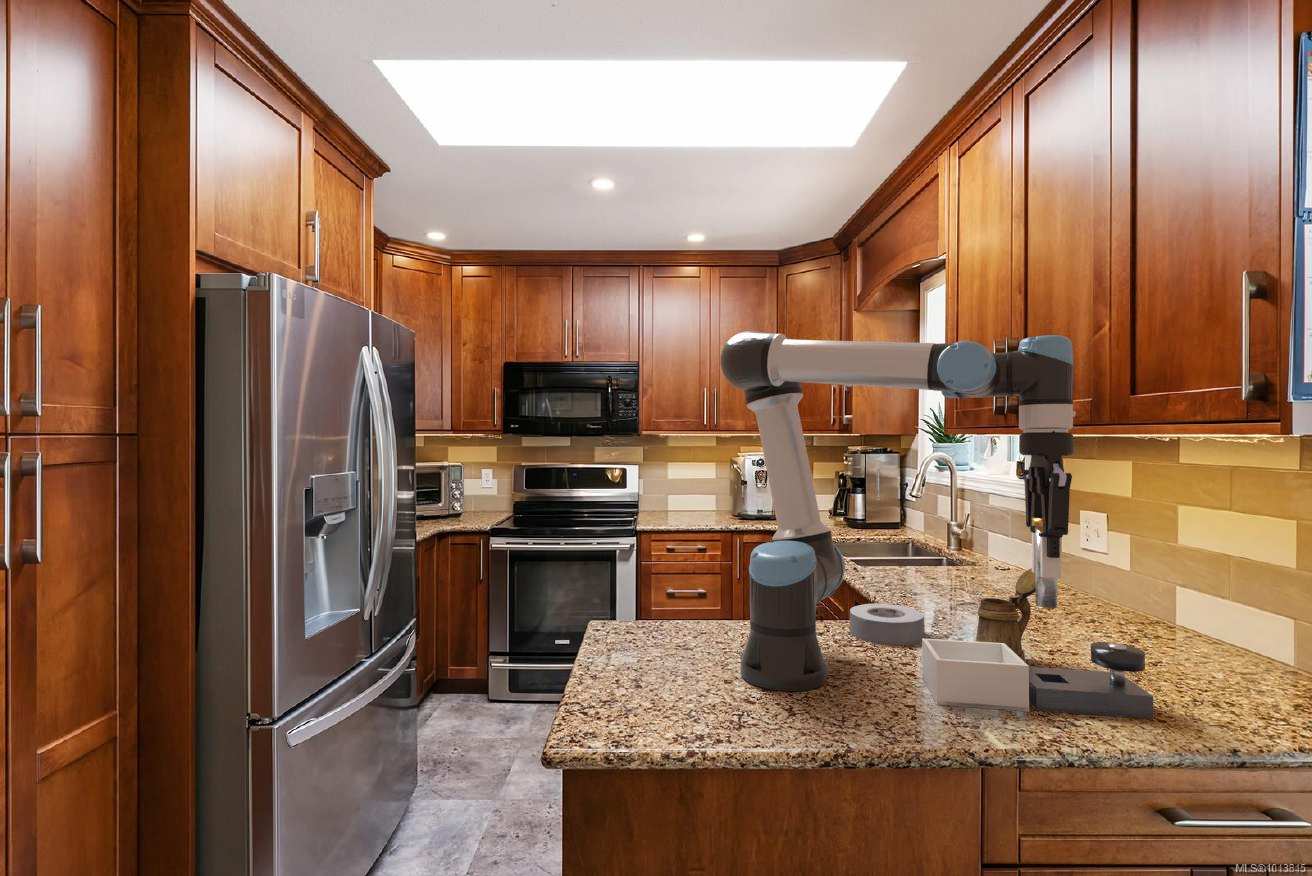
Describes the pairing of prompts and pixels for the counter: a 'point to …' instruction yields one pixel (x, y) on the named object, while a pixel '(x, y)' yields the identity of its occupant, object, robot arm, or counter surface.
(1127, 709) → the block
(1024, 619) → the wooden mug
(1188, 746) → the counter surface
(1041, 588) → the pin
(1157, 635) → the counter surface
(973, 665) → the parts bin
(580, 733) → the counter surface
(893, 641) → the tape roll
